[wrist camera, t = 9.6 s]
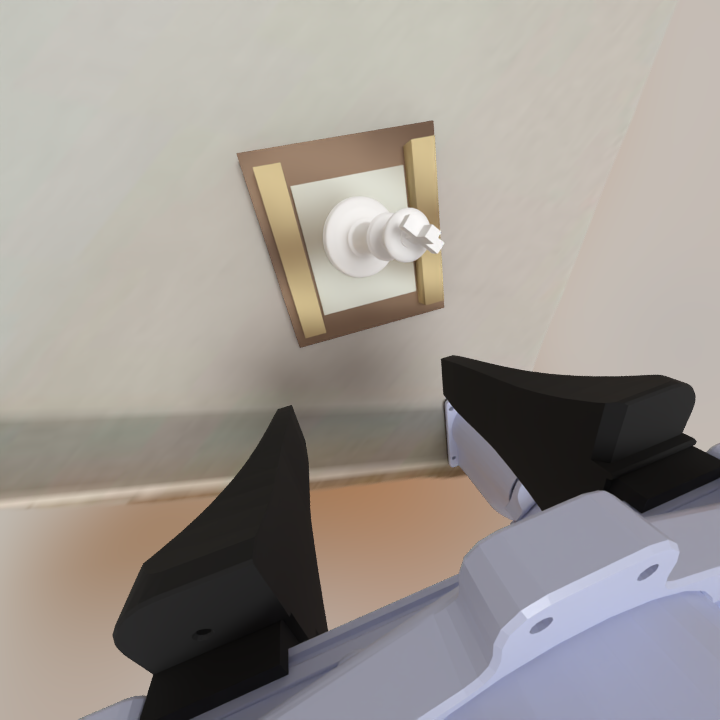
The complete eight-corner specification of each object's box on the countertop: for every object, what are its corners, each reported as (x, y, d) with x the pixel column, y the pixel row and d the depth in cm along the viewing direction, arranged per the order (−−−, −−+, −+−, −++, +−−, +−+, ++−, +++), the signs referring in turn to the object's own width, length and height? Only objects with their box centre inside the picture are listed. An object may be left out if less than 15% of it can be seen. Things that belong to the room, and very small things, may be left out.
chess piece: (370, 290, 19) (442, 330, 10) (309, 252, 17) (333, 260, 8) (407, 226, 18) (523, 210, 9) (346, 178, 16) (420, 97, 7)
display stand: (436, 304, 23) (452, 310, 21) (299, 342, 21) (300, 353, 19) (424, 127, 17) (443, 111, 15) (239, 159, 16) (232, 146, 14)
